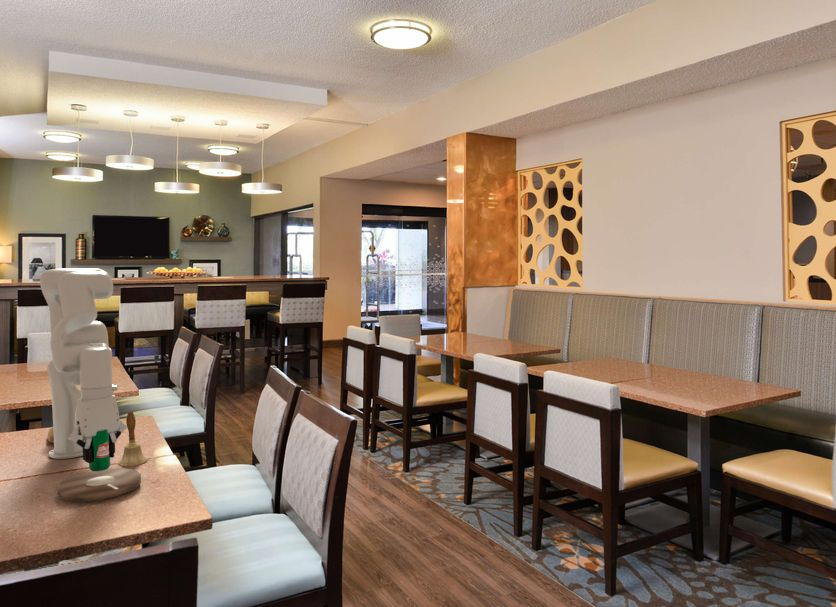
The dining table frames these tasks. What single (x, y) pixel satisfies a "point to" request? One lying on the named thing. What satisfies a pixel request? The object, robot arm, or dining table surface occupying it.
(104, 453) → the soda can
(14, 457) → the dining table surface
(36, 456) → the dining table surface
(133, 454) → the hand bell
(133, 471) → the turntable
